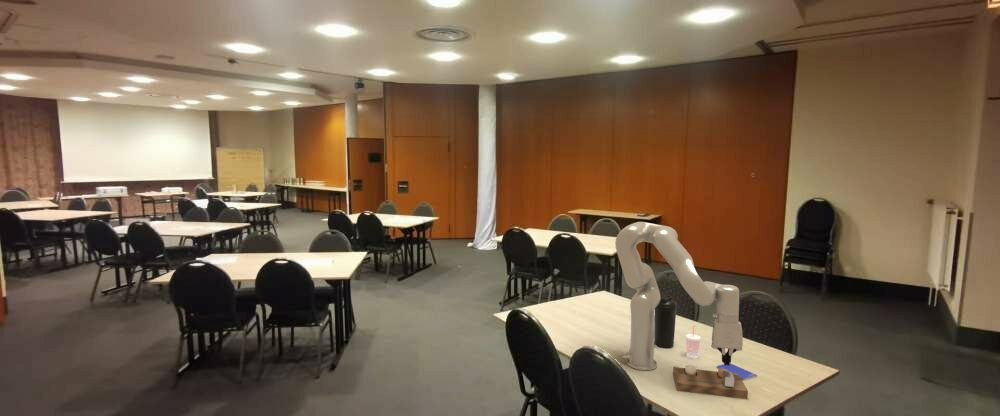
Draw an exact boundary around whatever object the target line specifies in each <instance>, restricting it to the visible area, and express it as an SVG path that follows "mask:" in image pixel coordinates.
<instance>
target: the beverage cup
mask: <svg viewBox="0 0 1000 416" xmlns="http://www.w3.org/2000/svg"><path fill="white" fill-rule="evenodd" d="M701 339H702V338H701V336H700V335H697V334H695V325H693V326H692V333H687V334H686V335H685V340H686V343H685V344H686V345H685V346H686V357H688V358H689V359H698V357H699V351H700V350H699V349H700V342H701Z"/></svg>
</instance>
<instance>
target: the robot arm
mask: <svg viewBox="0 0 1000 416" xmlns="http://www.w3.org/2000/svg"><path fill="white" fill-rule="evenodd" d="M678 237H679V235H678V232H677V231H676V229H674V228H673V227H671V226H668V225H662V224H656V223H652V222H651V223H650V222H646V221H637V222H633V223H631V224H629V225H626V226H625V227H624V228H623V229H621V230H620V231H619V233H618V234H617V236H616V238H615V242H614V243H615V244H614V245H615V250H616V253H617V257H618V260H619V262H620V263H619V264H620V266H621V269H622V270H621V271H622V273H623V275H624V276H623V277H624V280H625V283H626V284H627V286H628V287H629V288H631V289H634V290H636V293H634V294H633V295H632V298H631V300H630V305H629V306H630V308H629V309H630V343H629V344H630V349H629V351H626V352H625V351H619V353H618V356H619V357H621V358H622V360H623V359H625V362H626V364H627V366H629V367H630V368H633V369H636V370H639V371H653V370H655V369H656V368H657V367H658V362H657V360H655V359H654V355H655V354H654V353H655V344H654V334H655V308H656V307H657V305H658V304H659V302H660V299H661V298H662V296H661V292H660V289H659V285H658V283H657V279H656V277H655V274H654V271H653V269H652V268H651V266H650V265H648V264H647V263H645V262H642V259H641V256H640V255H641V254H640V253H639V251H638V249H637V245H638V244H640V243H642V242H643V243H644V242H646V243H649V244H653V246H654V247H655V248H656V250H657V251H658V252H659V254H660V255H662V257H663V258H664V260H665V261H666V263H668V265H669V266H670V267H671V268H672V270H673V272H674V274H675V276H676V277H677V279H678V281H679V283H680V285H681V286H682V288H683V289H684V291H686V293H687V294H688V295H689V297H690V298H691V299H692V301H694V302H695V304H697V305H699V306H702V307H708V306H710V305H712V304H713V303H714V301H716V312H715V313H712V318H715V319H714V321H713V325H712V333H711V334H712V335H711V346H710V347H711V348H712V349H714V350H717V351H719V352H720V354H721V362H722V363H723V364H724V365H728V366H729V363H731V364H732V356H733V354H735V353H736V352H740V351H743V344H744V343H743V342H744V341H743V337H744V336H743V327H742V323H741V321H740V320H739V316H740V315H739V313H740V289H739V287H737V286H735V285H732V284H720V283H717V282H713V281H703V279H702V278H701V277H700V275H699V274H698V272H697V270H696V268H695V263H694V260H693V257H692V256H691V254H690V253H689V252H688V250H687V249H685V247H684V246H683V244H682V243H681V242H680V240H678ZM726 349H727V351H726Z"/></svg>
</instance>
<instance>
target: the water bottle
mask: <svg viewBox="0 0 1000 416" xmlns="http://www.w3.org/2000/svg"><path fill="white" fill-rule="evenodd" d="M673 298H674V296H671V295H669V294H668V295H667V294H662V296H661V299H660V302H659V304H658V305H657V307H656V308H655V310H654V318H655V334H654V346H656V347H658V348H660V349H672V348H674V346H675V345H674V343H675V332H676V319H677V316H676V315H677V310H678V304H677V303H676V301H675V300H673Z"/></svg>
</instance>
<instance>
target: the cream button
mask: <svg viewBox="0 0 1000 416" xmlns="http://www.w3.org/2000/svg"><path fill="white" fill-rule="evenodd" d="M684 368H685V374H687V375H696V369H697V367H696V366H694V365H690V364H689V365H688V364H687V365H685V367H684Z"/></svg>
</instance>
